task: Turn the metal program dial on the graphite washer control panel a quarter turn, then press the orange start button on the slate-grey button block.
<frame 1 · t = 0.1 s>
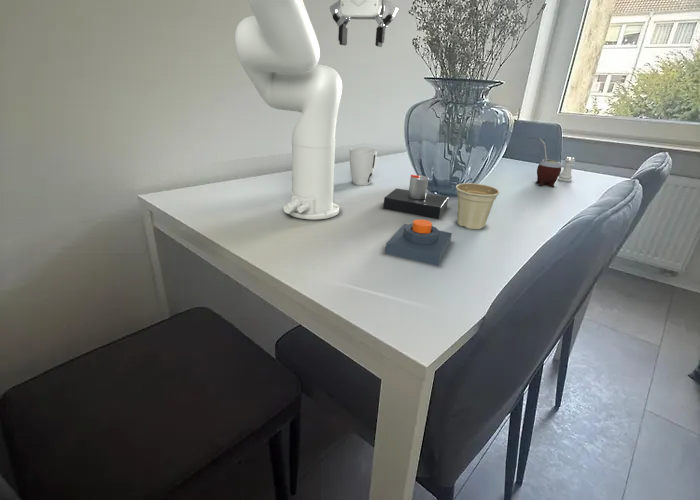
hand: (360, 45, 97), 37 cm above the table, tool pointing down, fingers open, 9 cm apart
cup: (361, 183, 119), on the table
dial: (418, 186, 97), point 6 cm above the table, hinge at 0.0°
control panel: (415, 208, 99), on the table
mate gourd: (543, 185, 130), on the table
button housing: (419, 248, 76), on the table
rook chess piece: (564, 181, 138), on the table
start button: (422, 226, 74), point 4 cm above the table, slide at 0.1 cm
flower pot: (470, 225, 90), on the table
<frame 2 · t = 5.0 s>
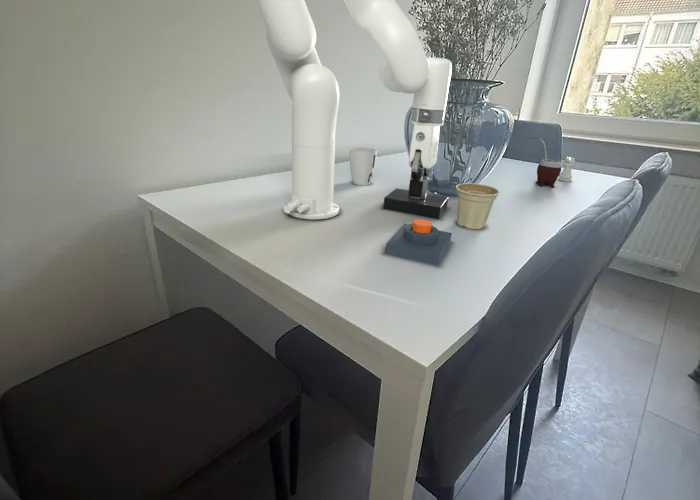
hand: (417, 193, 97), 4 cm above the table, tool pointing down, fingers closed on dial, 4 cm apart
dial: (418, 186, 97), point 6 cm above the table, hinge at 0.2°, touching gripper
everything else where it was.
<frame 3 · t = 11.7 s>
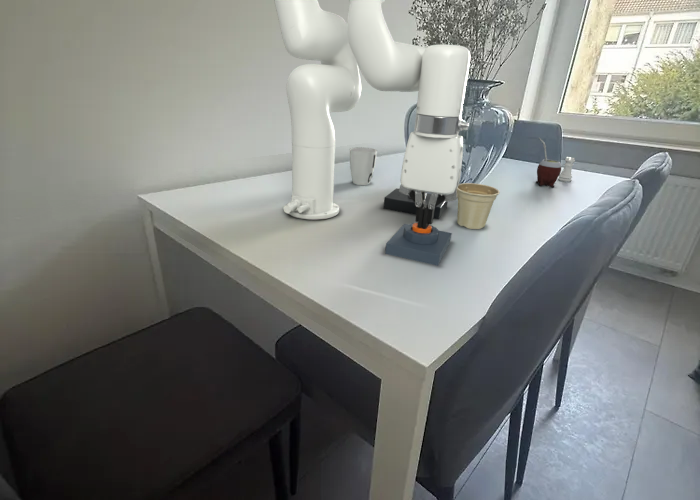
hand: (423, 226, 74), 5 cm above the table, tool pointing down, fingers closed
dial: (418, 186, 97), point 6 cm above the table, hinge at 90.5°
start button: (421, 230, 75), point 4 cm above the table, slide at -0.6 cm, touching gripper
everything else where it was.
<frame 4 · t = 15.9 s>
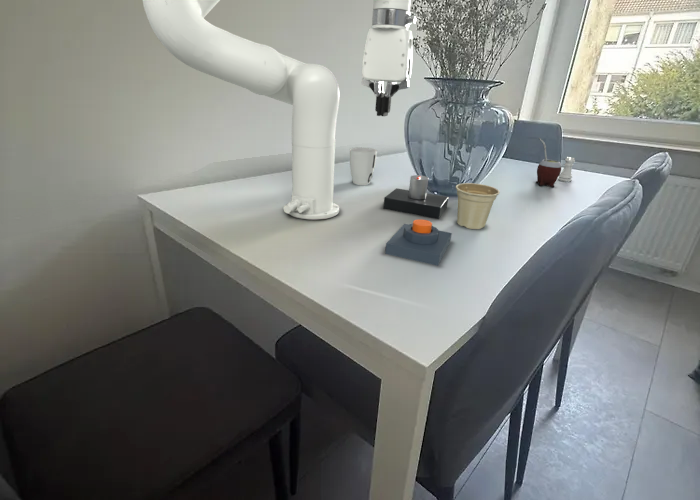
hand: (382, 115, 88), 22 cm above the table, tool pointing down, fingers closed
start button: (422, 226, 74), point 4 cm above the table, slide at 0.1 cm
everything else where it was.
at the end: dial at +90° (first picture: +0°); start button pushed in 1.1 cm at the most during the clip, back to where it started at the end; start button slide at 0.1 cm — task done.
